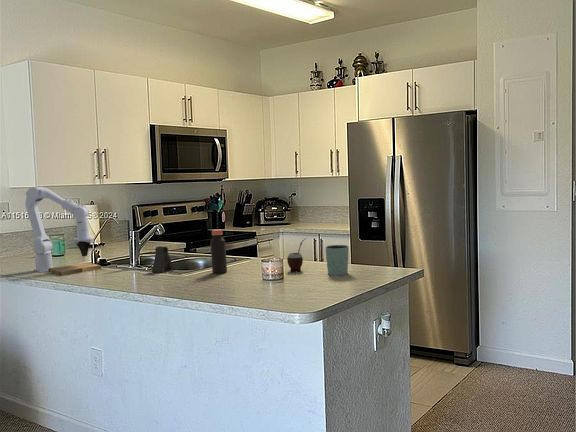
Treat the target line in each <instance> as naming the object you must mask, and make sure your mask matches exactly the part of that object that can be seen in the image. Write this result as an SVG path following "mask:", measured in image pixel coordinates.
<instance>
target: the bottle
mask: <svg viewBox="0 0 576 432" xmlns="http://www.w3.org/2000/svg"><path fill="white" fill-rule="evenodd" d="M223 234H224V233H223V229H219V228H217V229H212V230H211V235H212V239H210V257H211V270H212V271H211V272H212V274H216V275H218V274H220V275H221V274H226V273H227V272H228V266H227V250H226V247H227V246H226V240H225V239H224V237H223Z"/></svg>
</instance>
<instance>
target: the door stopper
mask: <svg viewBox="0 0 576 432" xmlns="http://www.w3.org/2000/svg"><path fill="white" fill-rule="evenodd" d="M154 249H155V255H154V260H153V264H152V269H151V272H152V273H156V274H157V273H158V274H161V273H165V272H166V273H167V272H171V271H175V268H174V265H173V263H172V259H171V258H170V255H169V249H168V247H167V246H160V245H159V246H156V247H155V248H154Z"/></svg>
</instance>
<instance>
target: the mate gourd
mask: <svg viewBox="0 0 576 432" xmlns="http://www.w3.org/2000/svg"><path fill="white" fill-rule="evenodd" d="M306 239H307V237H305V238H304V239H303V240H301V241H300V244H299V248H298V251H297V252H292V253H291V252H290V253H289V254H288V255H287V265H288V267H289V268H290V273H294V272H299V273H300V272H302V269H301V268H302V265H303V261H304V259H303V255H302V254H301V253H300V250H301V247H302V245H303V242H305V240H306Z"/></svg>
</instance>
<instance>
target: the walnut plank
mask: <svg viewBox="0 0 576 432" xmlns="http://www.w3.org/2000/svg"><path fill="white" fill-rule="evenodd" d="M68 265H69V264H67V265H61V266H60V265H59V266H56V267H55V266H53V268H48V271H47V272H48V273H50V274H54V275H58V276H60V277H63V276H68V275H74V274H80V273H81V272H82V269H81V268H77V267H72V266H68ZM82 273H83V272H82Z"/></svg>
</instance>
